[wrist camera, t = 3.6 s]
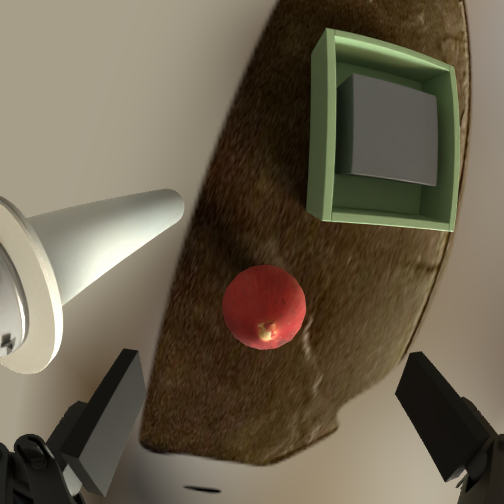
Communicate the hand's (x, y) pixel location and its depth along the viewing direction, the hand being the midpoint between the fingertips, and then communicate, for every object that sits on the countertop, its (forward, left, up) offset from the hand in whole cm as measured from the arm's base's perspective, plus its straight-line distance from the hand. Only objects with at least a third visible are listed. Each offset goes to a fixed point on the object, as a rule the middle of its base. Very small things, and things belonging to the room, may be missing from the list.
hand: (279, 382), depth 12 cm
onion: (0, 0, -12) cm, 12 cm away
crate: (+8, +13, -12) cm, 19 cm away
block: (+8, +13, -12) cm, 19 cm away
